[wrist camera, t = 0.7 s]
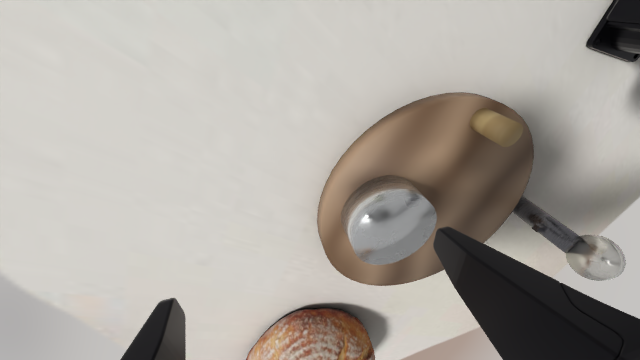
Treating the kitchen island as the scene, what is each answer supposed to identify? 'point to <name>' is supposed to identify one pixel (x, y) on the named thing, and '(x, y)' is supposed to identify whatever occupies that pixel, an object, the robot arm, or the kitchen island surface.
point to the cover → (387, 220)
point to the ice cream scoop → (575, 244)
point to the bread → (314, 338)
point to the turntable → (432, 176)
